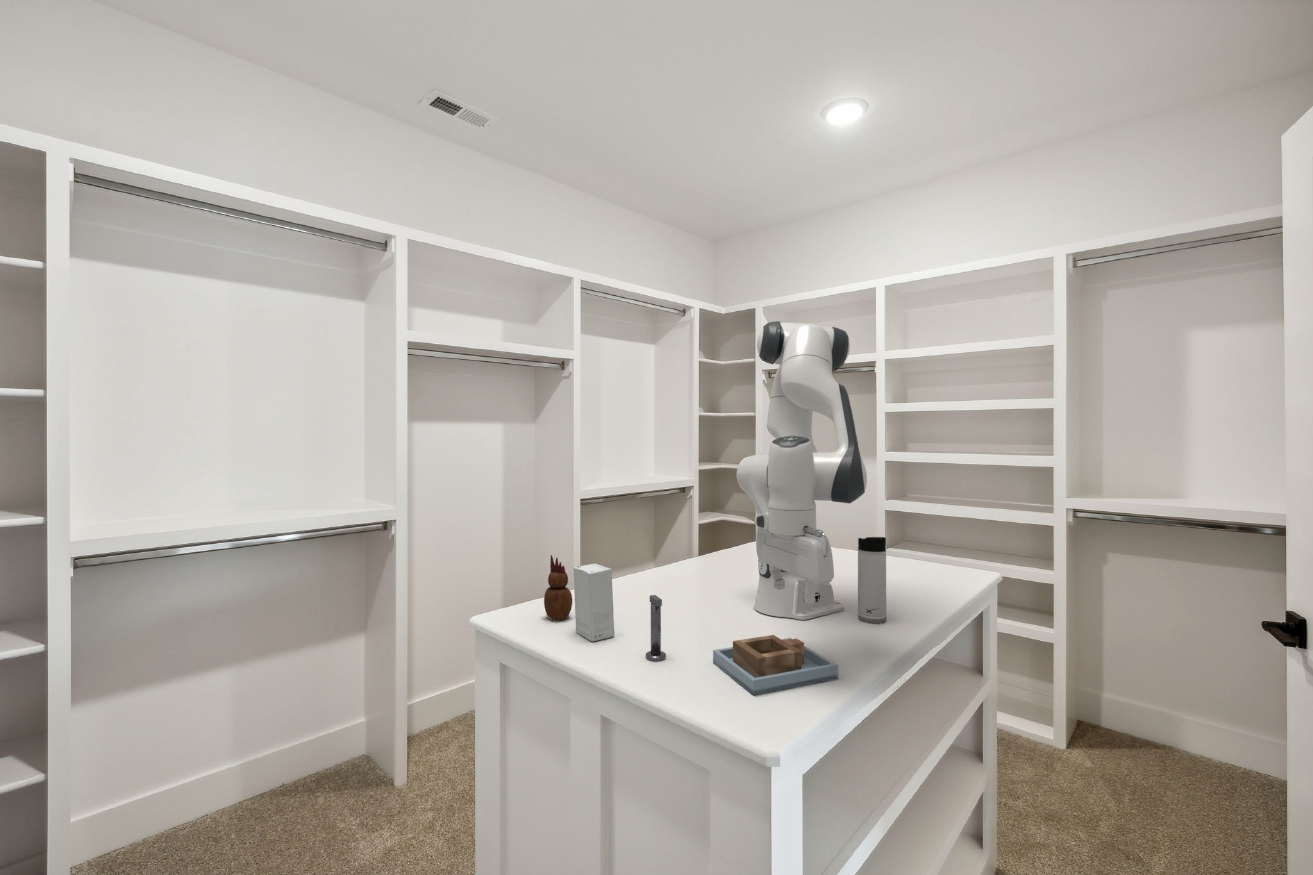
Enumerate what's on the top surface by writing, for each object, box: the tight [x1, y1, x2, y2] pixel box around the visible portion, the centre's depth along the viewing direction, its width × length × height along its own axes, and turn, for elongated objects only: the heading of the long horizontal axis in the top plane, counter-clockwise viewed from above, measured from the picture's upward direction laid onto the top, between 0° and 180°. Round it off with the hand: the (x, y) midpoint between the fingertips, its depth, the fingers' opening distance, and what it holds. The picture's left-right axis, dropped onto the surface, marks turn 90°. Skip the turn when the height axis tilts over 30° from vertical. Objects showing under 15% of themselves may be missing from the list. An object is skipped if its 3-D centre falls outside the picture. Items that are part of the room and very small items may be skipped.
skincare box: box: [573, 563, 615, 642], centre depth 124 cm, size 8×6×15 cm
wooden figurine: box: [543, 554, 573, 621], centre depth 135 cm, size 7×6×15 cm
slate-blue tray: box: [712, 637, 839, 696], centre depth 105 cm, size 18×15×2 cm
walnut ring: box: [732, 634, 805, 678], centre depth 105 cm, size 12×9×4 cm
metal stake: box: [645, 594, 667, 662], centre depth 111 cm, size 4×4×12 cm
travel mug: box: [857, 536, 887, 625], centre depth 133 cm, size 6×7×20 cm
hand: (793, 595), depth 107 cm, fingers open, 8 cm apart
